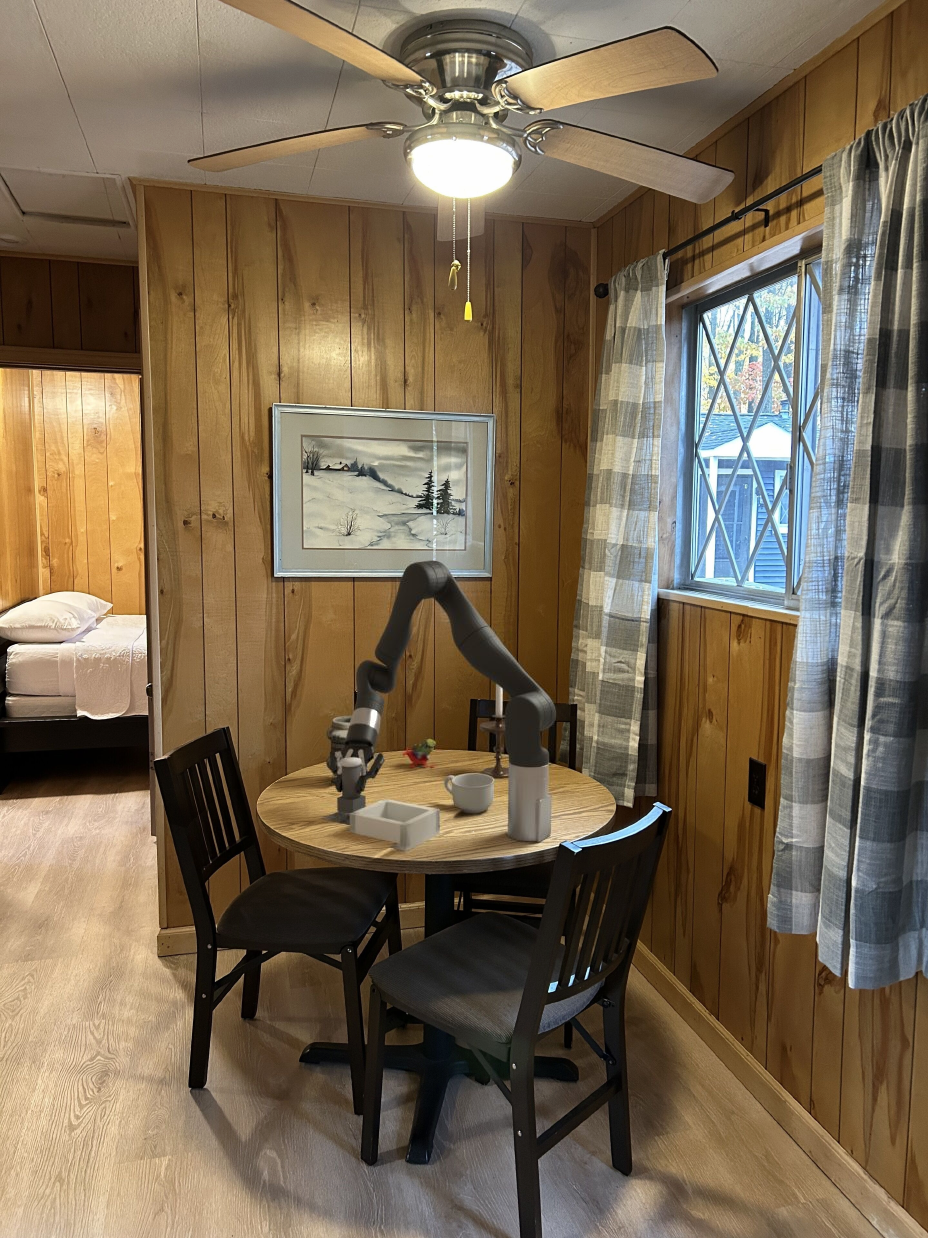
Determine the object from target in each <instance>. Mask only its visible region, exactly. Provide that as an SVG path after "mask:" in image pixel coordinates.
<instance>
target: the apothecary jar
mask: <svg viewBox="0 0 928 1238" xmlns="http://www.w3.org/2000/svg"><path fill="white" fill-rule="evenodd" d="M351 718H352V715H344V716H337V717H334V718H333V719H332V721H331V722H332V723H331V725H330V727H329V728H327V730H326V737H327V739H328V740H330V752H331V751H334V752H339V751H341V750H342V749H343V747H344V745H345V740H346V736H347V732H348V728H349V724H350V721H351ZM341 759H343V757H342V756H341V757H340V760H341ZM340 760H339V761H337V764H338V770H339V768H340V767H341V765H340ZM325 763H326V767H327V768H328V770H330V771H331V764H330V755H329V756H328V757H327V759H326V762H325ZM370 764H371V761H370V762H369V763H368V764H367V769H368V768H369V766H371V765H370ZM360 774H361V770H360ZM336 779H337V776H336V777H335V776H334V777H333V778H331V779H330V782H329V783H330V784H331V785H332V786H334V787H335V783H336Z"/></svg>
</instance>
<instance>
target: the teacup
mask: <svg viewBox="0 0 928 1238" xmlns="http://www.w3.org/2000/svg"><path fill="white" fill-rule="evenodd" d="M450 781H451V785H450ZM443 783H444V788H445V789H446V791H447V792H448V793H449V794H450V795H451V796H452V802H453V805H455V807H456V808H458V809H462V810H461V811H462V812H463V813H467V814H479V813H483V812H485V811H487V810H488V808H490V807H491V806H492V804H493V803H494V796H495V794H494V793H495V785H494V784H495V778H493V777H491V776H489V775H485V774H483V773H479V772H478V773H475V772H474V773H473V772H471V773H469V772H468V773H462V774H458V775H455V776H454V775H451V774H450V775H448V776H446V777H445V779H444V781H443Z"/></svg>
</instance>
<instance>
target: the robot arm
mask: <svg viewBox="0 0 928 1238" xmlns="http://www.w3.org/2000/svg"><path fill="white" fill-rule="evenodd" d="M428 599H433V600H434V601H436V603H438V604H439V606H440V607H441V608H442V610H443V611H444V612H445V614H446V615H447V617H448V620H449V623H450V629H451V630H450V631H451V635H452V639H453V642H454V644H455V647H456V648H457V650H458V651H459V652H460V654H461V655H462V656H463V657H464V659H465V660H466V661H467V662H468V664H469V665H470V666H471V667H472V668H473V669H474V670H475V671H477V672H478V673H480V674H481V675H483V676H484V677H486V678H487V679H489V680H490V681H492V682H493V683H495V685H496V684H498V685H499V686H500V687H501V688H502V689H503V690H502V691H503V692H505V693H506V694H507V695H508V697H509V698H510V700H509V701H508V702H507V705H506V706H505V712H504V715H505V717H504V721H505V733H504V738H505V739H504V743H505V750H506V752H507V755H508V768H509V777H508V778H507V779H508V784H507V785H508V786H507V787H508V789H507V790H508V791H507V792H508V793H507V794H508V795H507V796H508V797H507V799H508V800H507V835H508V837H509V838H511V839H514V840H516V841H521V842H538V843H539V842H542V841H543V840H545V839H546V838H547V837H549V836H551V834H552V802H553V801H552V800H553V799H552V798H553V797H552V794H550V793H549V775H550V773H549V772H550V771H549V770H550V769H549V768H550V766H549V765H550V763H549V762H550V752H549V751H548V749H546V748H545V747H543V746H542V741H541V732H542V731H544V730H547V729H549V728H550V727H551V726H553V724H555V721H556V718H557V710H556V706H555V704H554V702H553V700H552V699H551V697H550V695H548V694H547V692H545V691H544V689H543V688H542V687H541V686H540V685H539V684H538V683H537V682H536V681H535V680H534V679H533V678H532V677H531V676H530V675H529V674H528V672H526V671H525V669H523V667H522V666H521V665H520V663H518V661H517V659H516V658H515V657H514V656H513V654H512V653H511V652H510V651H509V650H508V649H507V648H506V646H505V645H504V644H503V642H502V641H501V640H500V638H499V637H498V635H497V634H496V633H495V632H494V631H493V629H492V628H491V626H489V624H488V623H487V622H486V620H484V618H483V617H482V615H481V614H480V613H479V612H478V611H477V608H475V607H474V605H473V604H472V603H471V602H470V600H469V599H468V598H467V596H466V595H465V592H463V590H462V589H461V587H460V585H459V584H458V582H457V581H456V578H454V576H453V574H452V572H451V571H450V569H448V568H447V566H446V565H445V564H444V563H442V562H440V561H438V560H424V561H416V562H413V563H410V564H409V565H407V567H405V569H404V570H403V573H402V576H401V578H400V583H399V584H398V589H397V593H396V596H395V599H394V602H393V606H392V610H391V612H390V616H389V619H388V621H387V623H386V626H385V628H384V630H383V632H382V635H381V637H380V638H379V640H378V643H377V645H376V647H375V649H374V656H375V658H376V659H377V660H378V661H379V662H380V663H378V662H376V661H373V660H368V659H367V660H366V659H365V660H364V661H362V662H360V664H359V665H358V667H357V670H356V674H355V682H356V701H355V705H354V709H353V713H352V715H351V716H352V718H351V721H350V724H349V728H348V732H347V736H346V740H345V745H344V747H343V749H342V750H341V751H339V752H334V751H331V750H330V751H329V756H330V764H331V770H330V771H331V773H332V775H333V777H334V778H335V777H337V779H336V783H335V786H334V787H335V790H336V791H337V793H341V794H342V766H341V767H340V768H339V770H338V764H337V761H339V760H340V757H341V756H342V757H343V758H350V757H355V758H360V759H361V765H360V770H361V773H360V777H359V780H358V785H357V793H358V794H361V795H362V793H363V792H364V791H365V789H366V785H367V781H368V780H369V779H375V778H376V777H377V775H378V773H379V771H380V770H381V768H382V766H383V764H384V763H385V760H386V759H385V757H384V754H383V753H382V752H380V753H376V752H375V750H376V744H377V741H378V736H379V734H380V728H381V719H382V715H383V711H384V706H385V700H384V699H385V698H383V696H382V695H381V694H384V695H385V694H389V693H391V691H393V690H394V689H395V686H396V684H397V679H398V678H397V677H398V669H399V666H400V663H401V660H402V657H403V655H404V654H405V652H406V650H407V648H408V646H409V644H410V641H411V638H412V631H413V630H412V620H413V616H414V613H415V611H416V609H417V608H418V606H420V603H421V602H422V601H423V600H428ZM372 760H373V762H372V764H371V765H370V768H369V769H368V768H367V764H368V763H369V762H370V763H371V761H372Z"/></svg>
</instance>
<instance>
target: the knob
mask: <svg viewBox="0 0 928 1238" xmlns="http://www.w3.org/2000/svg"><path fill="white" fill-rule="evenodd" d="M340 765H341V766H342V792H341V796H338V797H337V798H336V799H337V800H336V803H337V804H336V805H337V806H336V808H337V811H336V812H338V811H340V812H345V813H353V812H355V811H357V810H360V809H362V808H364V807H367V806H366V803H367V802H366V795H363V794H362V793H361V794H358V793H357V785H358V780H359V777H360V776H361V773H360V765H361V759H360V758H355V757H350V758H343V759H341V760H340Z"/></svg>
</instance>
